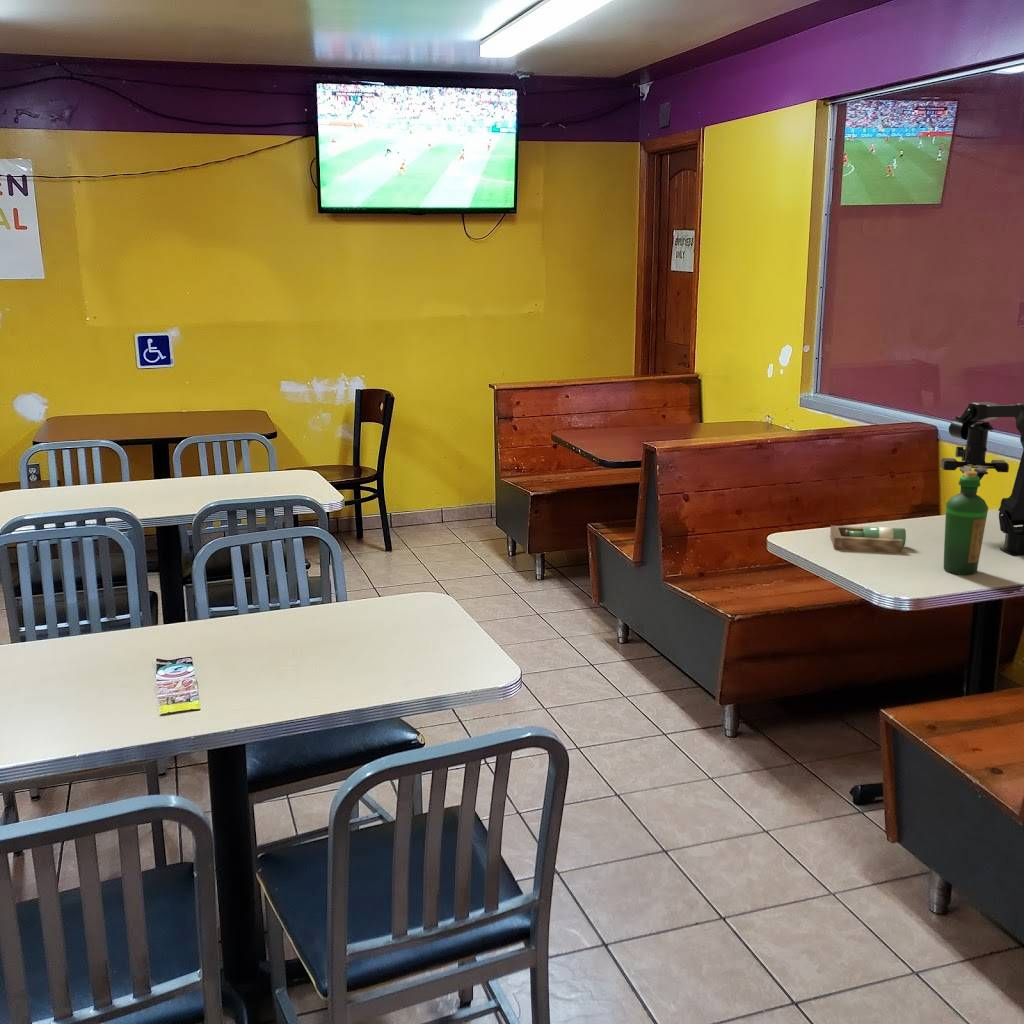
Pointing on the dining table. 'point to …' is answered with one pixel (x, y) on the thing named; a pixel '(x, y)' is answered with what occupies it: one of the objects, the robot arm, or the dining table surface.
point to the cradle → (862, 541)
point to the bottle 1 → (879, 533)
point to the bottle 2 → (964, 527)
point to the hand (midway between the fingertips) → (971, 492)
